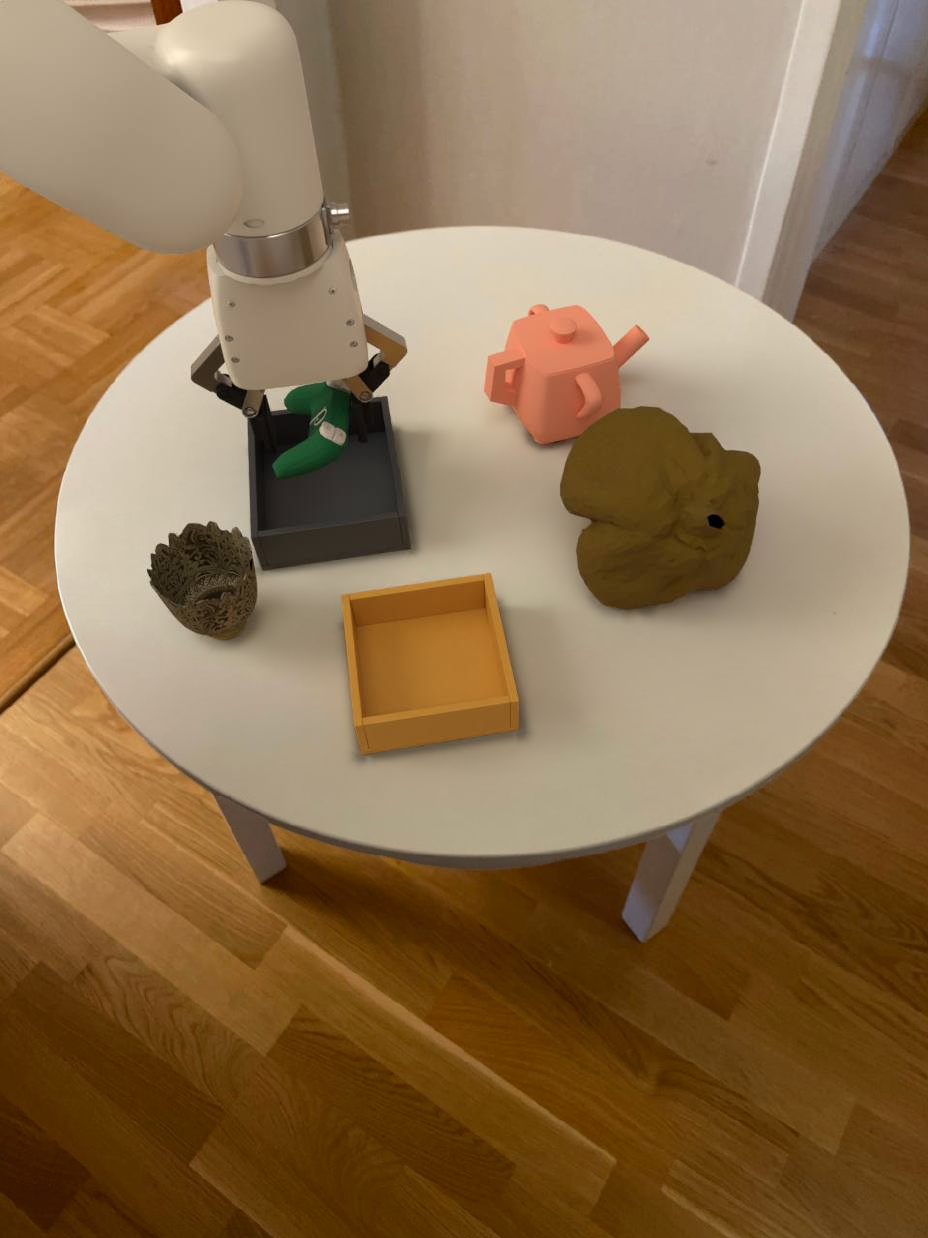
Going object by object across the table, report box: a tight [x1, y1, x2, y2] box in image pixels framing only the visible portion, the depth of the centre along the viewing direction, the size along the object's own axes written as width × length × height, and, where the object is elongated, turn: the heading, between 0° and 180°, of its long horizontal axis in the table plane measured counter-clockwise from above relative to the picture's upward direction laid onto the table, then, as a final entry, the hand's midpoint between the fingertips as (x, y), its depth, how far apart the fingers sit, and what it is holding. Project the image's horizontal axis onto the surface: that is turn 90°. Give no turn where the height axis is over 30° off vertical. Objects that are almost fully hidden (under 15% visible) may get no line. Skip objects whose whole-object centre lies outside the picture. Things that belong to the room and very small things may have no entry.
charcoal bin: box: [246, 395, 412, 571], centre depth 78 cm, size 12×14×4 cm
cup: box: [146, 520, 258, 641], centre depth 69 cm, size 8×7×8 cm
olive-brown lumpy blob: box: [559, 405, 762, 611], centre depth 69 cm, size 14×14×14 cm
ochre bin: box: [340, 572, 520, 755], centre depth 67 cm, size 11×11×4 cm
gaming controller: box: [272, 379, 351, 479], centre depth 73 cm, size 9×4×6 cm
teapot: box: [483, 303, 651, 445], centre depth 81 cm, size 12×12×10 cm
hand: (316, 435), depth 74 cm, fingers closed on gaming controller, 6 cm apart
